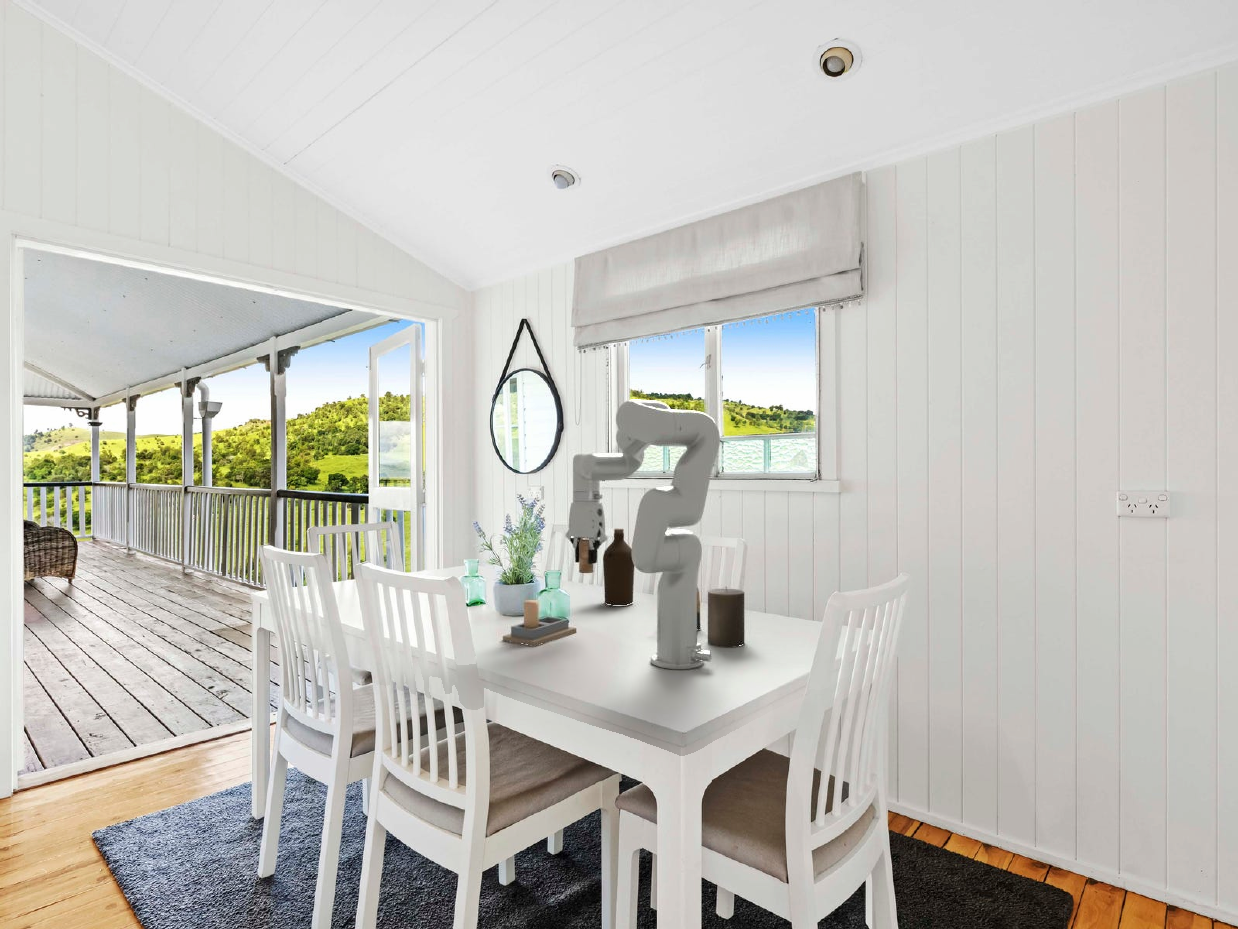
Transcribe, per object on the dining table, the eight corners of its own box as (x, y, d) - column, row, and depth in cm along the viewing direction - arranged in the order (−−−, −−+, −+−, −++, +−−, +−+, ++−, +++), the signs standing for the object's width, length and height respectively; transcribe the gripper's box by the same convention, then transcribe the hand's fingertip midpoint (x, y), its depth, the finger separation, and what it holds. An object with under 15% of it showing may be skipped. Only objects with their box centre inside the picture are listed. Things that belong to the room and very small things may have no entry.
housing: (576, 632, 199) (576, 596, 199) (534, 646, 184) (534, 607, 184) (545, 627, 205) (545, 591, 205) (502, 640, 190) (502, 602, 190)
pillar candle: (743, 648, 182) (744, 590, 182) (705, 646, 184) (706, 588, 184) (744, 639, 192) (745, 584, 192) (708, 637, 194) (709, 582, 194)
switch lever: (596, 571, 202) (596, 540, 201) (587, 573, 198) (587, 541, 198) (584, 570, 204) (585, 539, 204) (576, 572, 201) (576, 540, 200)
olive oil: (633, 607, 232) (633, 530, 232) (601, 607, 233) (601, 530, 233) (635, 601, 243) (635, 527, 243) (604, 600, 244) (604, 527, 244)
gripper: (618, 498, 199) (617, 563, 199) (571, 496, 209) (571, 558, 209) (602, 499, 193) (602, 567, 193) (554, 497, 203) (554, 561, 203)
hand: (586, 562), depth 201 cm, fingers closed on switch lever, 4 cm apart
